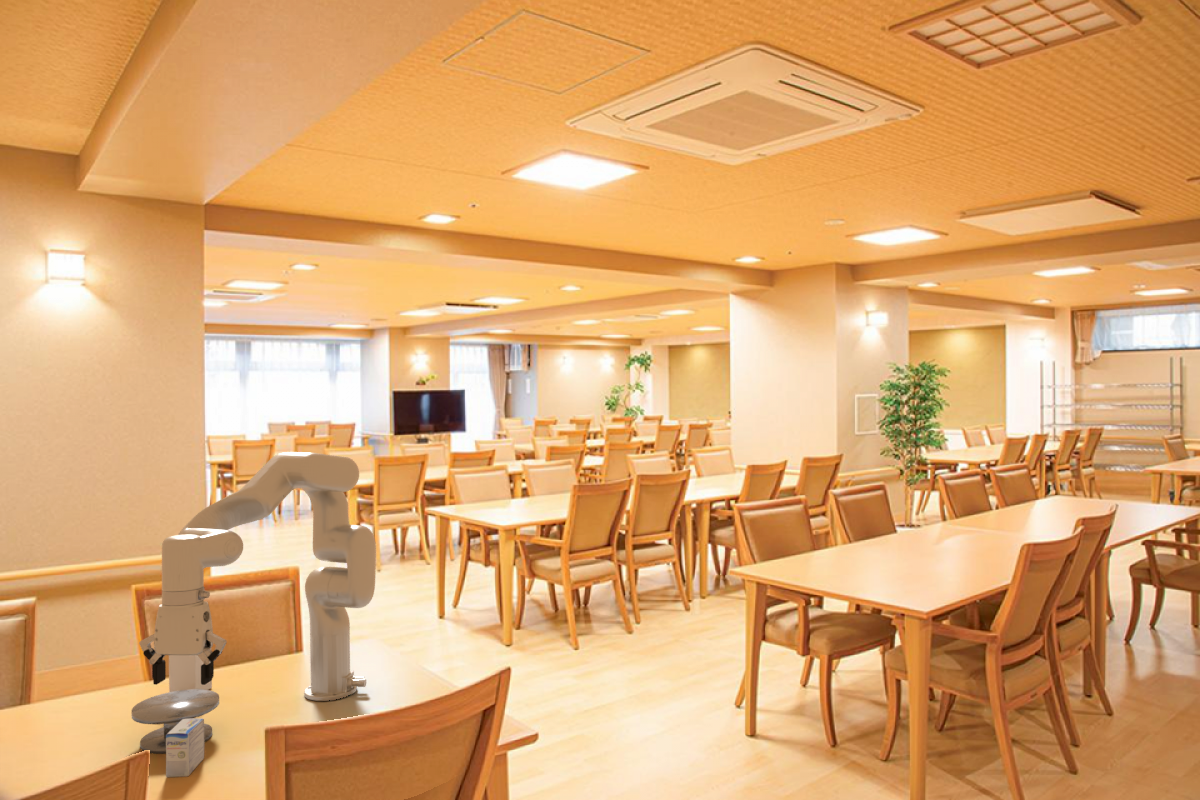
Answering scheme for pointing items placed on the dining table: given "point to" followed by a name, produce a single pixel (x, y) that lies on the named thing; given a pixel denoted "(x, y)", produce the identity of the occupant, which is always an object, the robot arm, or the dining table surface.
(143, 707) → the cake stand
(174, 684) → the milk carton
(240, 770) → the dining table surface
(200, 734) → the medicine box
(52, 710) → the dining table surface
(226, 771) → the dining table surface
